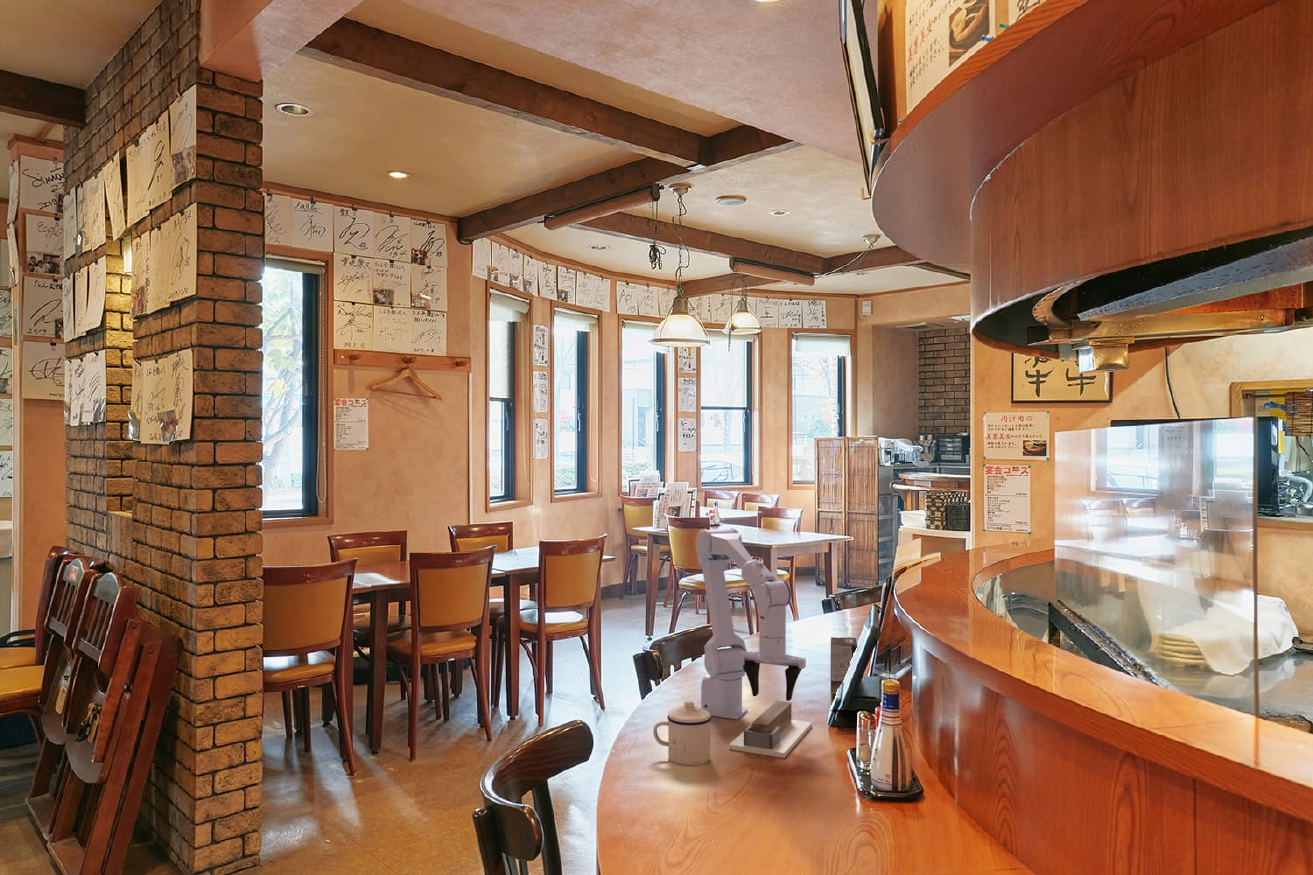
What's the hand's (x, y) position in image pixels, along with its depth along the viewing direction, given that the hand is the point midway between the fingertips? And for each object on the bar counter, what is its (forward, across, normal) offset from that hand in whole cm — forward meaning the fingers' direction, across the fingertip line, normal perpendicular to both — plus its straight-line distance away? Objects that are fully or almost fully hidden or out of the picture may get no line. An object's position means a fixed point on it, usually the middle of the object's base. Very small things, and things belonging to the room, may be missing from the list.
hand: (772, 697), depth 194 cm
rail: (+8, 0, 0) cm, 8 cm away
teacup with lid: (+9, -13, -20) cm, 25 cm away
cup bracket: (+9, 0, 0) cm, 9 cm away
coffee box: (+9, +9, +30) cm, 33 cm away
